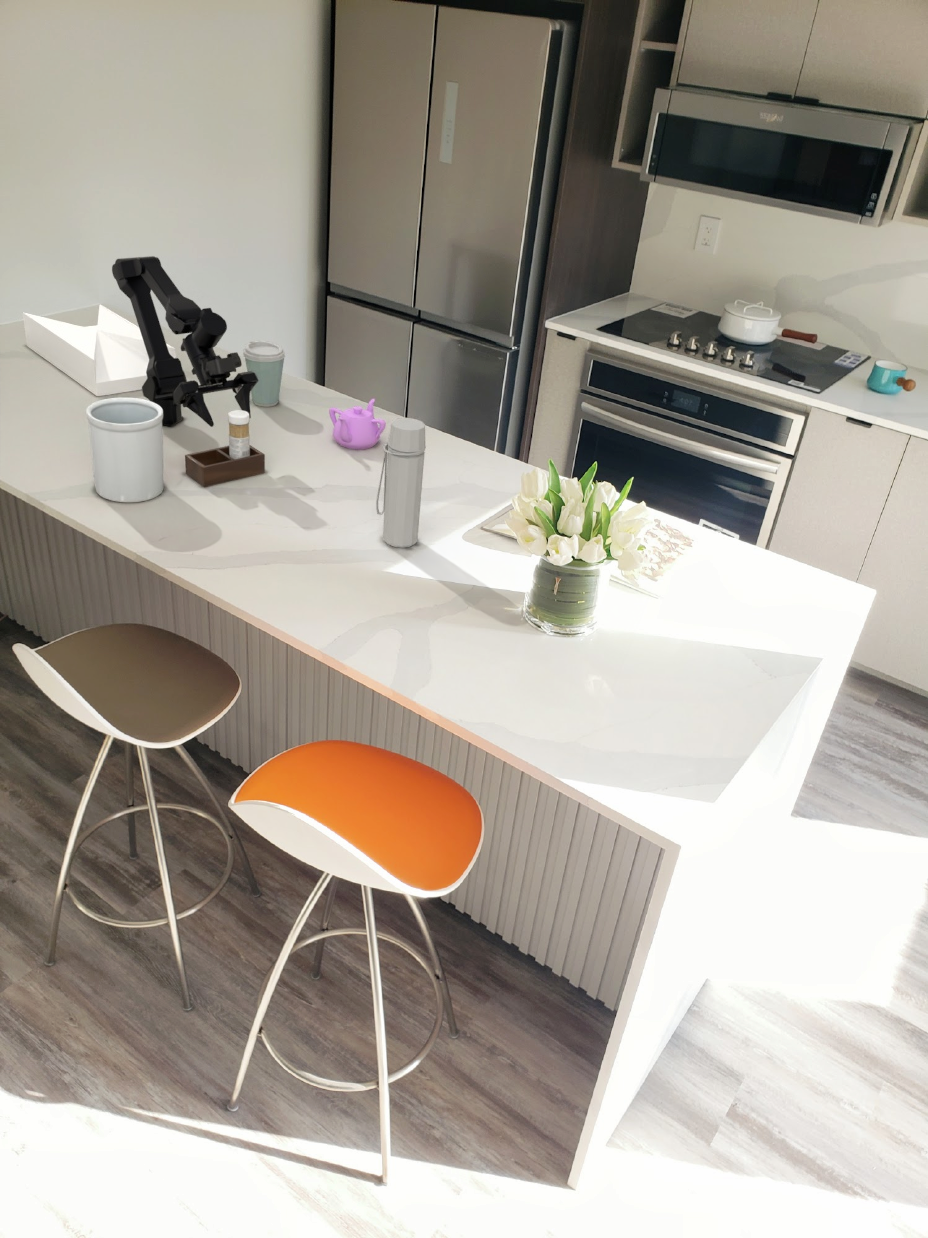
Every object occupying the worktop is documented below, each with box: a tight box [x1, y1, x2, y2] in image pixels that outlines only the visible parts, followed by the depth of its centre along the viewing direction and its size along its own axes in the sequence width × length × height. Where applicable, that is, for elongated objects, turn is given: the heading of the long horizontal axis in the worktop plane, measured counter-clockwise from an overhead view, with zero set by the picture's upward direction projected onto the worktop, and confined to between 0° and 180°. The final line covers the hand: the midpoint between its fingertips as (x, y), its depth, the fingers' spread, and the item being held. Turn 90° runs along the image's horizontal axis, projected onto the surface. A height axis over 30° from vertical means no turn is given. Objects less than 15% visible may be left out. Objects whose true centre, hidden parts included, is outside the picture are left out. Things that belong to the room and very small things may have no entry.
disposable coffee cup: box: [242, 340, 286, 408], centre depth 260 cm, size 11×11×15 cm
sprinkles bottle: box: [227, 409, 251, 459], centre depth 223 cm, size 5×5×13 cm
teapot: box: [328, 398, 387, 450], centre depth 245 cm, size 12×14×9 cm
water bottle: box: [375, 417, 427, 549], centre depth 198 cm, size 9×8×25 cm
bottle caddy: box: [184, 444, 266, 488], centre depth 223 cm, size 8×15×4 cm, turn 132°
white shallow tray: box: [22, 304, 177, 397], centre depth 274 cm, size 45×22×10 cm, turn 42°
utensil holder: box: [85, 397, 165, 503], centre depth 208 cm, size 15×15×18 cm
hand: (231, 422), depth 223 cm, fingers open, 9 cm apart
